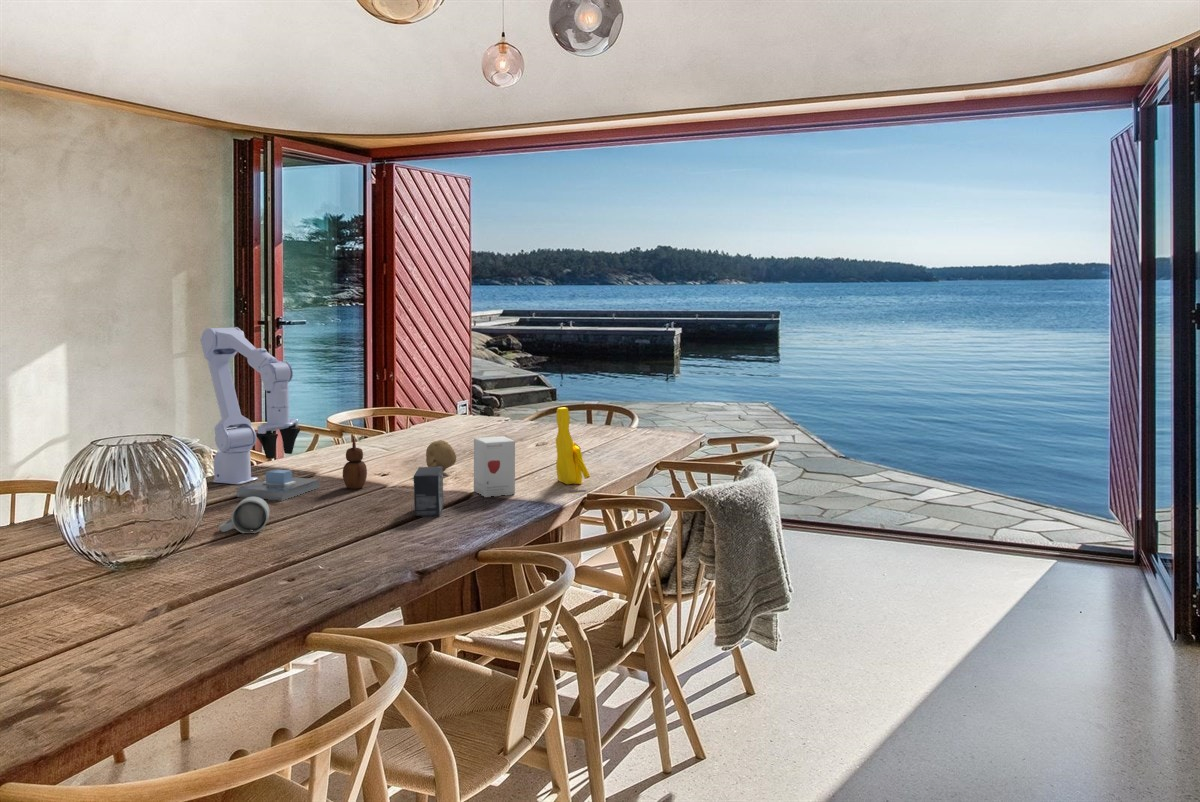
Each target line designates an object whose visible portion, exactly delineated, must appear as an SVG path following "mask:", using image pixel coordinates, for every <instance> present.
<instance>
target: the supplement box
mask: <svg viewBox="0 0 1200 802" xmlns="http://www.w3.org/2000/svg"><path fill="white" fill-rule="evenodd" d="M515 479H516V441H515V440H513V439H511V438H509V437H507V436H504V435H503V436H489V437H488V436H485V437H474V438H473V491H474V492H475V493H477V494H478V493H479V495H480V494H481V495H480V496H482V497H483V496H484V498H492V497H491V496H494V497H502V496H501V495H505V496H511V495H512V494H516V481H515ZM512 496H513V495H512Z"/></svg>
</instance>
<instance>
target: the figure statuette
mask: <svg viewBox="0 0 1200 802" xmlns="http://www.w3.org/2000/svg"><path fill="white" fill-rule="evenodd" d="M570 421H571V419H570V411H569V408H568V407H565V406H564V407H557V409H556V424H557V430H558V432H557V435H556V437H555V448H556V455H557V457H556V476H557V481H559V482H561V483H563V484H565V485H572V484H577V485H578V484H579V485H580V484H582V482H583V480H582V479H583V477H584V479H585V480H586V479H589V478H590V477H591V476H590V475H591V474H590V473H589V471H588V468H587V466H586V464H585V462H584V458H583V452H582V451H581V449H582V448H581V447H580V446H579V445H578V444H577V443H576V442H574V441H573V439H572V434H571V433H570Z"/></svg>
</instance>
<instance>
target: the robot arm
mask: <svg viewBox="0 0 1200 802" xmlns="http://www.w3.org/2000/svg"><path fill="white" fill-rule="evenodd" d="M200 337H201V338H200V344H201V348H202V351H203V356H204V359H205V360H207V366H208V369H209V373H210V377H211V381H212V385H213V389H214V393H215V397H216V401H217V405H218V409H219V413H220V417H221V419H220V421H218V423H216V425H215V426H214V428H213V429H214V432H215V435H214V436H215V437H214V442H215V445H216V447H217V449H218V451H217V452H216V453H215V455H214V458H213V471H214V472H213V473H214V477H213V478H214V479H213V480H212V482H213V483H217V484H218V483H220V484H230V485H243V484H246V483H250V482H252V481H256V480H258V479H259V478H258V476H252V470H251V469H252V467H251V450H253V447H254V446H255V445H256V442H257V439H258V440H259V442H260V445H261V446H262V449H263V452H264V455H265V458H266V459H268V460H269V459H270V460H274V459H275V455H276V443H277V442H276V441H277V439H278V436H279V434H278V433H274V432H275V431H279V433H280V435H281V440H282V448H283V449H282V450H283V453H284V454H287V455H292V454H293V453H294V447H295V443H296V440H297V437H298V435H299V434H300V432H301V427H299V419H298V418H297V419H296V418H291V419H290V399H289V397H290V394H289V391H290V390H289V383H290V382H291V381H292V379H293V375H294V374H293V373H294V372H293V367H292V365H291V364H290V363H289V362H288V361H285V360H284V361H281V360H278V359H277V358H276V357H275V356H273V355H272V354H271V353H269V352H268V351H267V349H266V348H264V347H261V348H259V347H258V348H257V347H255V346H254V345H253V344H252V343H251V342H250V341H249V340H248V339H247V338H246V336H245V333H244V331H243V330H241V328H239V327H238V326H233V327H214V328H213V327H206V328H205V329H204V330H203V331H202V334H201V336H200ZM238 353H239V354H241V355H242V356H244V357H245V358H246V359H247V364H248V365H249V366H250V367H251V368H253V369H254V371H256V372H257V373H259V374H260V379H261V380H262V383H263V390H264V391H265V396H266V397H265V400H266V401H265V402H266V422H264V423H263V424H260V425H257V427H256V428H257V432H256V431H255V429H254V427H253V425H252V422H251V420H250V419H249V418H247V417H245V416H244V415H242V413H241V409H240V408H241V407H240V405H239V400H238V397H237V392H236V388H235V385H234V384H235V383H234V381H233V377H232V372H231V368H230V365H229V362H230V360H231V359H233V358H235V356H236V355H237V354H238Z"/></svg>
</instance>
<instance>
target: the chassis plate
mask: <svg viewBox="0 0 1200 802" xmlns="http://www.w3.org/2000/svg"><path fill="white" fill-rule="evenodd" d="M265 481H266V478H265V479H262V481H260V480H259V481H255V482H251V483H248V484H245V485H241V486H238V487H236V497H237V498H242V497H244V498H243V499H245V498H247V497H259V498H261V499H263V500H264V499H268V500H267V501H275V500H278V501H279V502H283V500H284V501H286V500H285V499H287V500H289V499H288V498H290V499H292V498H294V496H295V497H298V496H300V494H301V495H304V494H306V493H305V492H307V493H309V492H308V491H310V492H312V491H311V490H313V491H315V490H314V489H316V490H318V489H320V480H319V479H315V478H306V477H305V478H304V477H294V476H292V481H296V483H295V484H292V485H289V486H275V485H266V484H263V482H265ZM317 488H318V489H317ZM303 493H304V494H303ZM297 495H298V496H297ZM291 497H292V498H291Z"/></svg>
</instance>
